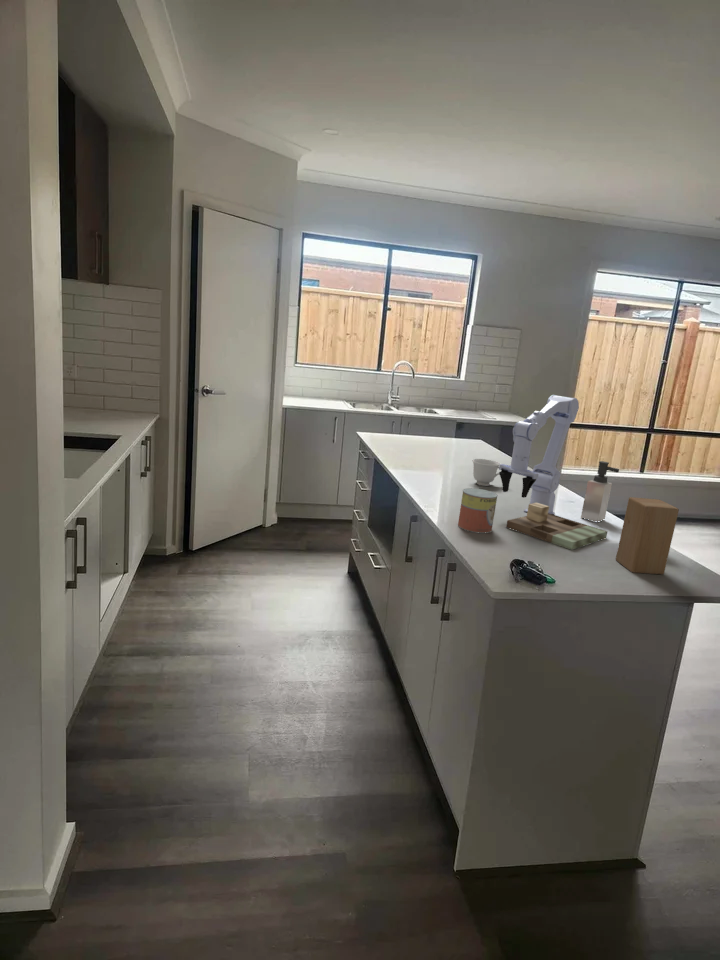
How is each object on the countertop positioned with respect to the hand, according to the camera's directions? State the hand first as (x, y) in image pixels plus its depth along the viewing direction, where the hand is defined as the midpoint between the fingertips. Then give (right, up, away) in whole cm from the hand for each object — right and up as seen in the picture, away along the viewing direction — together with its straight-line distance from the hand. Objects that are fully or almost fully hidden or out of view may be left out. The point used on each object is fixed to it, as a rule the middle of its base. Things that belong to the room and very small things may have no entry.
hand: (514, 494), depth 217 cm
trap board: (+12, -13, -8) cm, 19 cm away
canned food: (-16, -11, -12) cm, 23 cm away
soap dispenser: (+34, -10, +14) cm, 38 cm away
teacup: (+1, +3, +54) cm, 54 cm away
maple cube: (+7, -8, -3) cm, 11 cm away
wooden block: (+28, -21, -34) cm, 49 cm away
